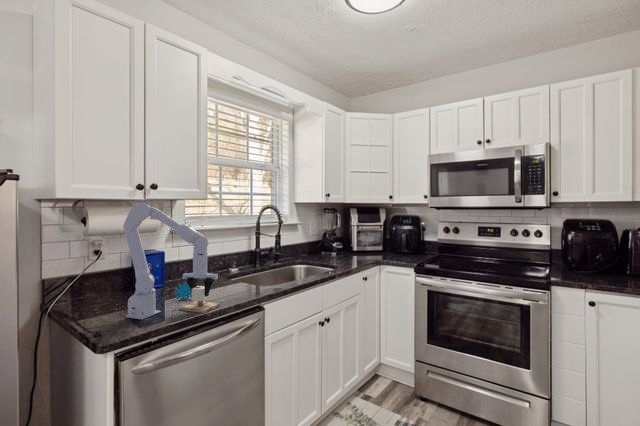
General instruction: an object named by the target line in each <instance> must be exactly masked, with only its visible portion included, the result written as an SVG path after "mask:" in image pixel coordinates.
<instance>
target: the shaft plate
mask: <svg viewBox="0 0 640 426" xmlns="http://www.w3.org/2000/svg"><path fill="white" fill-rule="evenodd" d="M220 305H221V304H220V303H218V302H209V301H191V302H190V303H188V304H186V305H182V306H180V307H179V308H180V309H179V310H180V311H186V312H195V313H202V314H206V313H208V312H209V311H212V310H213V309H216V308H218V307H220Z"/></svg>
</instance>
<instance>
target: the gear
mask: <svg viewBox="0 0 640 426" xmlns="http://www.w3.org/2000/svg"><path fill="white" fill-rule="evenodd" d="M182 283H183V284H181V283H178V284H177V286H178V287H179V288H178V287H177V286H176V287H175V288H174V292H173V295H174V296H175V298H176V299H177V300H178V299H179V300H180V301H183V300H184V299H185V301H188V300H189V297H190V299H192V293H191V290H190V287H189V285H188V284H187V282H186V280H184V281H182Z"/></svg>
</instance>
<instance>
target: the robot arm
mask: <svg viewBox="0 0 640 426" xmlns="http://www.w3.org/2000/svg"><path fill="white" fill-rule="evenodd" d="M149 217H150V218H149ZM148 218H149V220H153V221H154V220H157V221H159V222H161V223H162V224H164V225H166V226H167V227H169V228H171V229H172V230H174V231H175V235H176V236H177V237H179V238H180V239H182V240H183V241H185V242H186V243H188V244H192V246H193V252H192V272H189V273H187V272H186V273H182V279H184V280H185V281H186V284H188V285H189V287H190V290H191V293H192V289H193V288H194V287H196V286H197V281H198V280H199V279H201V280H203V279H204V280H203V286H205V296H206V297H207V296H208V295H209V296H210V290H211V287H212V285H213V283H214V280H217V279H219V274H218V273H211V272H208V245H209V241H208V238H207V237H205V236H204V235H203V234H202V232H200V231H197V230H195V229H193V228H192V225H190V224H186V223H182V224H180V223H179V222H177V221H176V220H175V219H173V218H172V217H171V216H169V215H167V214H166V213H164V212H163V211H162V210H160V209H158V208H156V207H154V206H150V204H148V203H145V202H139V203H136V204H134V205H133V206H132V207H131V208H130V209H129V211H128V214H127V217H126V219H125V221H124V222H123V225H122V226H123V227H122V228H123V231H124V235H125V239H126V242H127V245H128V249H129V250H128V251H129V254H130V257H131V261H132V265H133V269H134V274H135V285H134V287H135V291H134V294H132V295H131V296H130V297H129V298H128V300H127V315H126V316H125V317H126V318H131V319H137V320H144V319H146V318H149V317H152V316H154V315H156V314H160V313H161V312H162V311H161V310H157V309H156V307H157V306H156V304H157V303H156V299H157V296H156V288H154V287H155V281H156V280H155V277H154V275H153V274H152V273H151V271H150V268H149V265H148V262H147V258H146V254H145V250H144V247H143V243H142V239H141V236H140V231H139V227H140V226H141V224H142V223H143V222H144V221H145V220H147V219H148Z"/></svg>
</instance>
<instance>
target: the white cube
mask: <svg viewBox="0 0 640 426" xmlns="http://www.w3.org/2000/svg"><path fill="white" fill-rule="evenodd" d="M209 296H210V294H209V295H208V296H207V297H206V296H205V286H204V285H196V287H194V288H193V289H192V298H191V302H195V301H203V302H206V300H207V299H209V298H210V297H209Z"/></svg>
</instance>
